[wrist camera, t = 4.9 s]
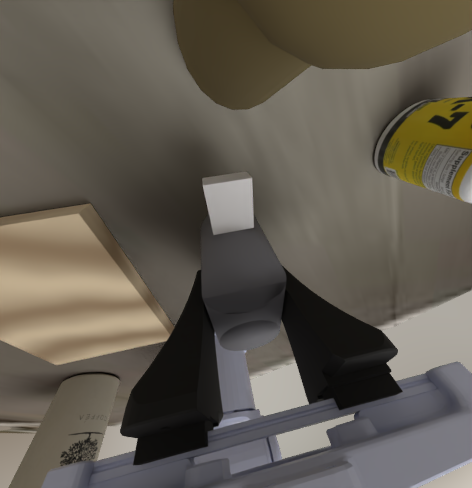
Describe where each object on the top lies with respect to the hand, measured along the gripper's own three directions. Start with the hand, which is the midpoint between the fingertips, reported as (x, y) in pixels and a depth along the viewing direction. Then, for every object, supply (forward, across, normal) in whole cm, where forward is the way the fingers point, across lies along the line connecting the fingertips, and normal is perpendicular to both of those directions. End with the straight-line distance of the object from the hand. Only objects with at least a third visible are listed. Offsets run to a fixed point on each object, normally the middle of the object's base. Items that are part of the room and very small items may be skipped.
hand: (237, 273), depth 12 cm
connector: (+2, 0, -1) cm, 2 cm away
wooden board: (+4, +16, +4) cm, 17 cm away
